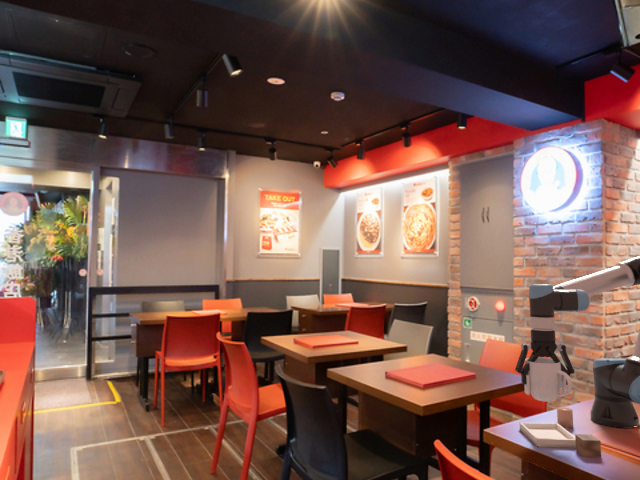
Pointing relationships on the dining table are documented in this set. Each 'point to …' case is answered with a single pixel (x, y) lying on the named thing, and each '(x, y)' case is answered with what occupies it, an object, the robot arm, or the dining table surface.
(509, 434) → the dining table surface
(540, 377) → the mug
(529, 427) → the tray
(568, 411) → the brown short cylinder
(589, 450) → the walnut block
